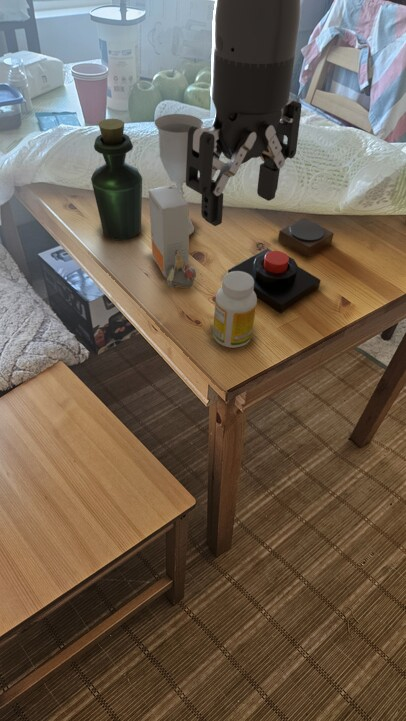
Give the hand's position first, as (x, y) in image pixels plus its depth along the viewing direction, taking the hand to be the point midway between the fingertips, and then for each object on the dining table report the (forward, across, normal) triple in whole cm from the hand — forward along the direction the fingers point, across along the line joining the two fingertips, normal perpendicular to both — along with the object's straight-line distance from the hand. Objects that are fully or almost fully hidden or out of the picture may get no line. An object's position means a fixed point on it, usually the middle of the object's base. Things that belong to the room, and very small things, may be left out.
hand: (240, 209), depth 57 cm
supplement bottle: (+19, 0, -1) cm, 19 cm away
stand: (+19, +25, +7) cm, 32 cm away
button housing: (+19, +13, +3) cm, 23 cm away
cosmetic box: (+19, +4, +17) cm, 26 cm away
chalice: (+19, +12, +24) cm, 33 cm away
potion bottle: (+19, +3, +30) cm, 36 cm away
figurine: (+19, +2, +12) cm, 23 cm away
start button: (+16, +13, +3) cm, 20 cm away
